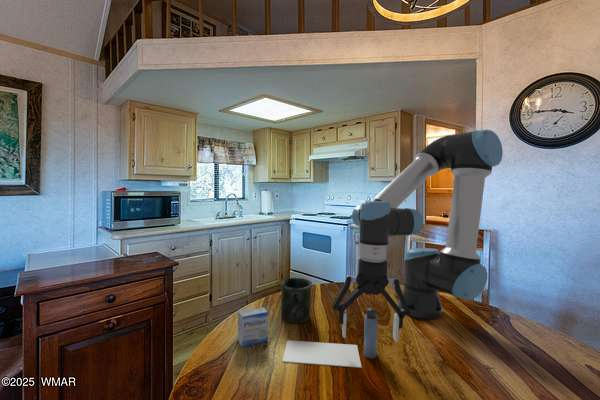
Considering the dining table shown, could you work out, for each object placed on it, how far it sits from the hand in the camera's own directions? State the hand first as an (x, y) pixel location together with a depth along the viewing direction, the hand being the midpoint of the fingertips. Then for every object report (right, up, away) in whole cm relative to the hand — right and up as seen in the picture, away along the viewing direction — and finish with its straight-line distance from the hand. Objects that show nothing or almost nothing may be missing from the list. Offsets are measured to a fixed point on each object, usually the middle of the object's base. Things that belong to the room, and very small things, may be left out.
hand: (369, 337), depth 76 cm
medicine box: (-32, -4, +6) cm, 33 cm away
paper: (-13, -5, 0) cm, 14 cm away
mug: (-20, -4, +20) cm, 29 cm away
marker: (0, -5, 0) cm, 5 cm away
